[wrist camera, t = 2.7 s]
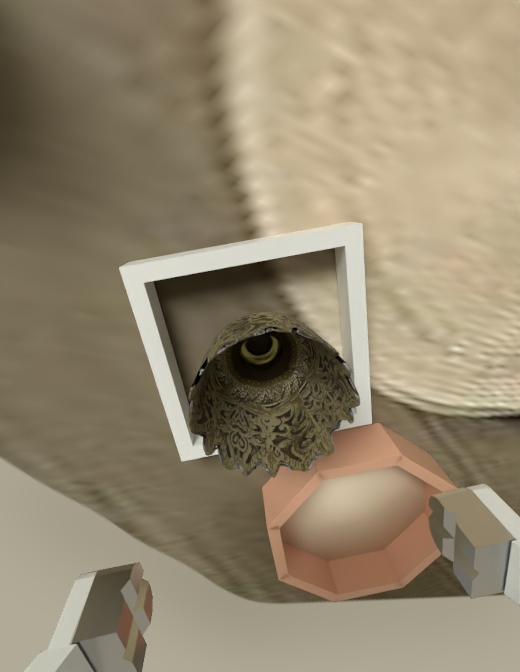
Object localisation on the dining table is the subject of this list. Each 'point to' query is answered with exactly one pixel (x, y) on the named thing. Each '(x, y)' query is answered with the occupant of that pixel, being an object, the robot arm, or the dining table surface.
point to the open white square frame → (148, 270)
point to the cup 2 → (270, 396)
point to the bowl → (355, 515)
